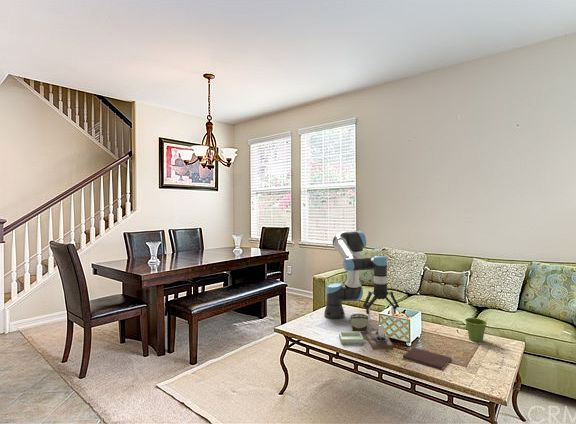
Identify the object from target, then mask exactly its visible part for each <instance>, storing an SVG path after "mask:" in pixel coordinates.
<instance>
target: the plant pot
mask: <svg viewBox="0 0 576 424" xmlns="http://www.w3.org/2000/svg"><path fill="white" fill-rule="evenodd" d="M464 321H465V324H466V327H467V328H466V329H467V334H468V339H469V340H470V341H473V342H479V343H480V342H483V340H484V337H485V331H486V328H487V325H488V321H486V320H484V319H482V318H476V317H466V318H464Z"/></svg>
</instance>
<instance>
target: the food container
mask: <svg viewBox="0 0 576 424" xmlns="http://www.w3.org/2000/svg"><path fill="white" fill-rule="evenodd" d="M349 319H350V323H351V332H360V333H361V332H363V333H366V332H368V324H369V320H368V314H364V313H352V314H351V315H350V317H349Z"/></svg>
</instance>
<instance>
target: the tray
mask: <svg viewBox="0 0 576 424" xmlns="http://www.w3.org/2000/svg"><path fill="white" fill-rule="evenodd" d="M338 337H339V341H340V344H341V345H364V343H365V342H364V341H365V339H364V337H363V334H362V333H361V332H352V331H339V332H338Z"/></svg>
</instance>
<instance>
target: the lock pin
mask: <svg viewBox="0 0 576 424" xmlns="http://www.w3.org/2000/svg"><path fill="white" fill-rule="evenodd" d="M377 328H378V330H377V331H378V340H384V334H385V331H384V330H385V327H384V325H383V324H378V327H377Z"/></svg>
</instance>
